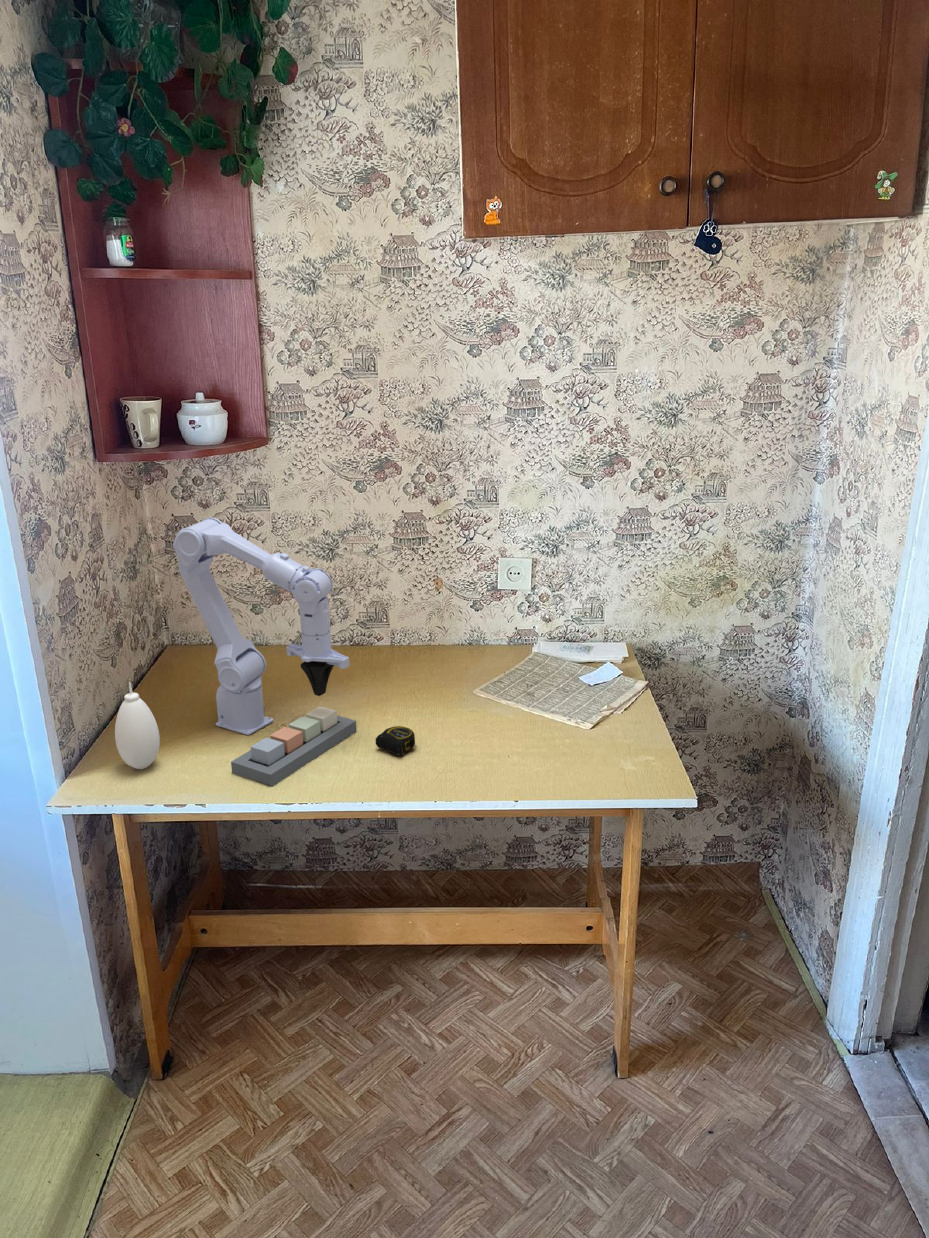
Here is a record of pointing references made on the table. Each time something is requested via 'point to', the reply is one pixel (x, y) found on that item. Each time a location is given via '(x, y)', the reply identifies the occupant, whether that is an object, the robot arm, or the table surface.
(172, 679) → the table surface
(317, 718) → the ivory key
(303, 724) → the sage key
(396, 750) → the tape measure
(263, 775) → the key panel
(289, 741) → the terracotta key
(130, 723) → the white bulb syringe
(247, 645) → the robot arm
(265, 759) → the slate key
